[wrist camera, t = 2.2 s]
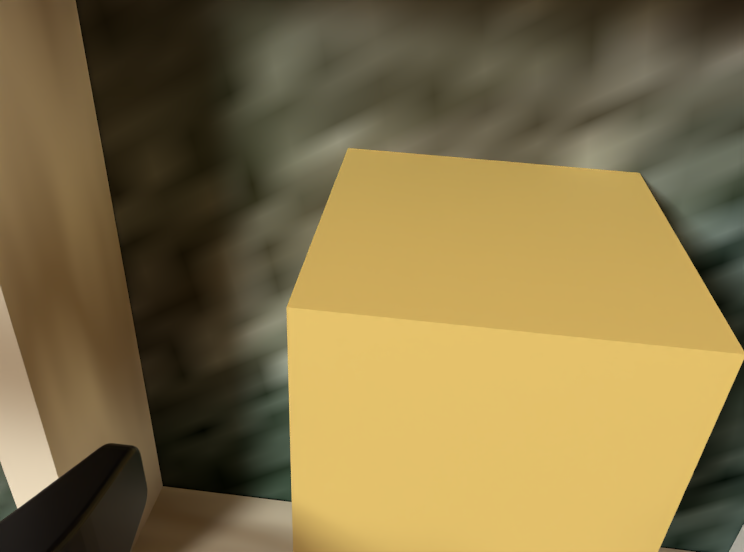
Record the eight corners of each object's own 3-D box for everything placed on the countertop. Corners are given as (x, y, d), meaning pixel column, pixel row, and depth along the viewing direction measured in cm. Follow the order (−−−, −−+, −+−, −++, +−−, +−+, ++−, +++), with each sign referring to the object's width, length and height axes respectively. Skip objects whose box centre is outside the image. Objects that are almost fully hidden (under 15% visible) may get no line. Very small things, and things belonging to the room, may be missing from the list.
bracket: (734, 583, 16) (794, 740, 14) (130, 507, 18) (64, 638, 15) (1188, -216, 8) (1618, -260, 5) (-44, -271, 9) (-289, -335, 6)
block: (576, 391, 14) (627, 619, 10) (341, 365, 14) (294, 575, 10) (638, 171, 11) (745, 354, 7) (348, 146, 12) (287, 307, 7)
